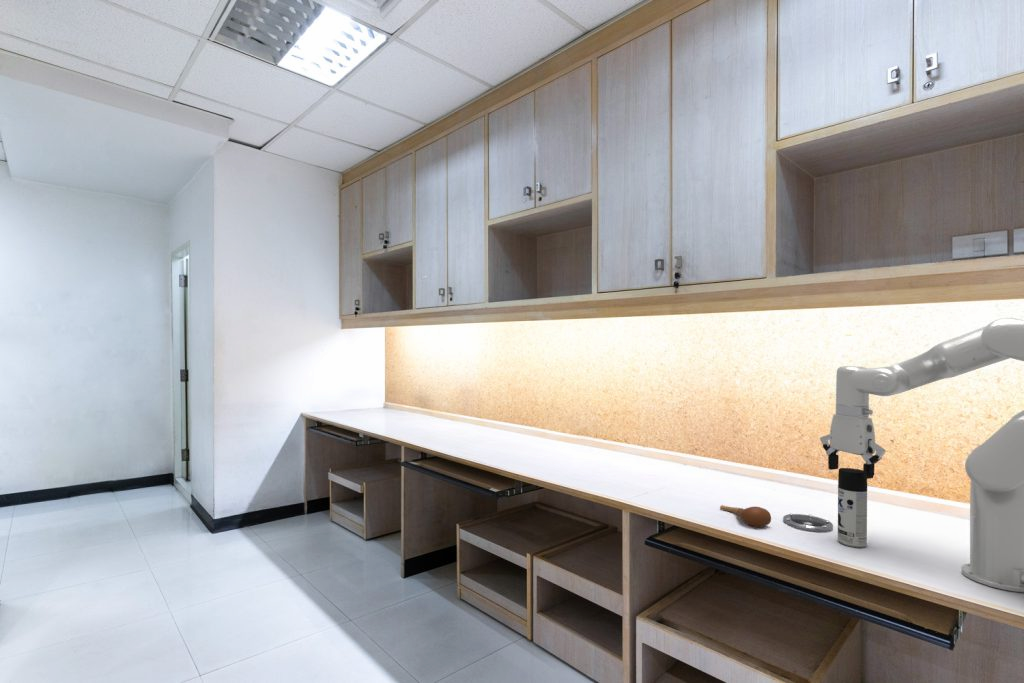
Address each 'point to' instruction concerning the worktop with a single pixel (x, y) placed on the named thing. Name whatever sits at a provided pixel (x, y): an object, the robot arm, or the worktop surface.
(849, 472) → the spray can
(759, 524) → the pipe
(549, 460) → the worktop surface
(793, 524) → the flange
